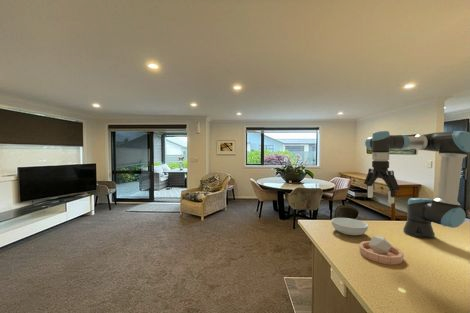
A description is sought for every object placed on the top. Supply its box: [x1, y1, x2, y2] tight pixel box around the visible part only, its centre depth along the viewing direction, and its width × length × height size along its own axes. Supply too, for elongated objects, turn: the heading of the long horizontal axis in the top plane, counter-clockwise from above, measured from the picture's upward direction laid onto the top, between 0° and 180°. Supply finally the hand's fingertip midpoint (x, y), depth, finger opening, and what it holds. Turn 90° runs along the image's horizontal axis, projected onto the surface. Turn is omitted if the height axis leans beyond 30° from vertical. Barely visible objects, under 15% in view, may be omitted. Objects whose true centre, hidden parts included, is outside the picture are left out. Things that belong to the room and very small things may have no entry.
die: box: [369, 235, 393, 255], centre depth 109 cm, size 8×9×10 cm
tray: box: [358, 240, 405, 266], centre depth 109 cm, size 18×18×4 cm
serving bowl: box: [331, 217, 369, 236], centre depth 139 cm, size 21×21×7 cm
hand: (380, 200), depth 115 cm, fingers open, 13 cm apart
